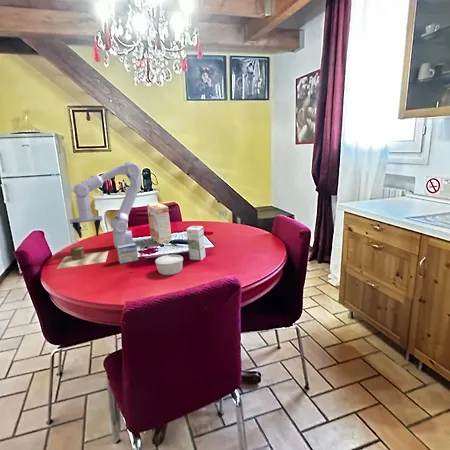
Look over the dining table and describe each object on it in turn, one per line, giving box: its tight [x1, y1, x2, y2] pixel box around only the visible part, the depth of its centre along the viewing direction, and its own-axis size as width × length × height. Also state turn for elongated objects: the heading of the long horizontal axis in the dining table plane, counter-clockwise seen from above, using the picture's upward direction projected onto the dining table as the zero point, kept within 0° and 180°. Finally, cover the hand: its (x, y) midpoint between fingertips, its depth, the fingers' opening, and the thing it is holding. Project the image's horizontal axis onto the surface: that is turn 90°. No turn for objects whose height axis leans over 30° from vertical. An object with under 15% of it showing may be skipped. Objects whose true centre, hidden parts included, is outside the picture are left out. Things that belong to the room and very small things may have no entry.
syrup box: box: [186, 225, 206, 261], centre depth 148 cm, size 6×6×14 cm
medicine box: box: [116, 242, 139, 265], centre depth 148 cm, size 8×4×9 cm, turn 118°
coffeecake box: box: [146, 202, 173, 245], centre depth 178 cm, size 15×7×20 cm, turn 29°
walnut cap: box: [70, 245, 86, 260], centre depth 156 cm, size 6×6×5 cm
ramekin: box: [154, 254, 184, 276], centre depth 137 cm, size 11×11×5 cm
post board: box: [56, 250, 109, 270], centre depth 154 cm, size 20×16×5 cm
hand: (89, 236), depth 162 cm, fingers open, 7 cm apart
